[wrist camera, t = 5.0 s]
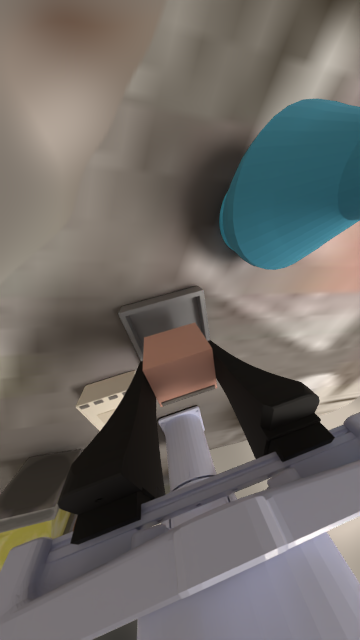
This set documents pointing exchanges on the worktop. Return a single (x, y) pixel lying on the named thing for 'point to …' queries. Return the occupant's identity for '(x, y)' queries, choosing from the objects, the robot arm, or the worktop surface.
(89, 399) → the block
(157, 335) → the stub
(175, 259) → the worktop surface
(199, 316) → the tray
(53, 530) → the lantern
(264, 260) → the perfume bottle
